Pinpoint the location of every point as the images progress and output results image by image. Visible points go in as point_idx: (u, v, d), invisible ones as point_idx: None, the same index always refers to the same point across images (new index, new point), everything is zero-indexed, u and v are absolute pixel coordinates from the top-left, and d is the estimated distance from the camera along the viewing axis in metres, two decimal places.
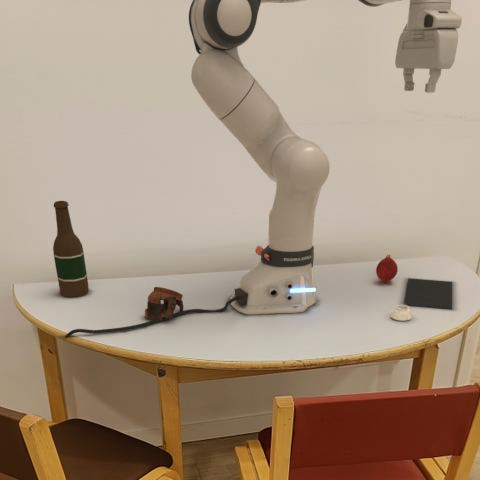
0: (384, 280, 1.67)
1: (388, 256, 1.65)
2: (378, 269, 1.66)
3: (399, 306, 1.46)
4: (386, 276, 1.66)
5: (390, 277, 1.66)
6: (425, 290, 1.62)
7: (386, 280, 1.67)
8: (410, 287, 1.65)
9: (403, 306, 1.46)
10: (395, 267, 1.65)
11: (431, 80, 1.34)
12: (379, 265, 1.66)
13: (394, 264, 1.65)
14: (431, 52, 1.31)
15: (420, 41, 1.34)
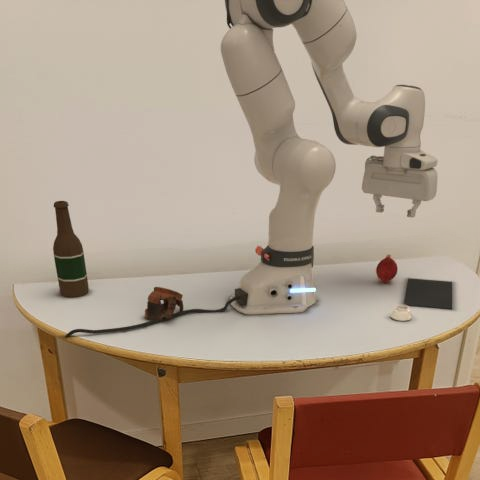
0: (384, 280, 1.67)
1: (388, 256, 1.65)
2: (378, 269, 1.66)
3: (399, 306, 1.46)
4: (386, 276, 1.66)
5: (390, 277, 1.66)
6: (425, 290, 1.62)
7: (386, 280, 1.67)
8: (410, 287, 1.65)
9: (403, 306, 1.46)
10: (395, 267, 1.65)
11: (415, 208, 1.54)
12: (379, 265, 1.66)
13: (394, 264, 1.65)
14: (416, 187, 1.51)
15: (398, 175, 1.53)
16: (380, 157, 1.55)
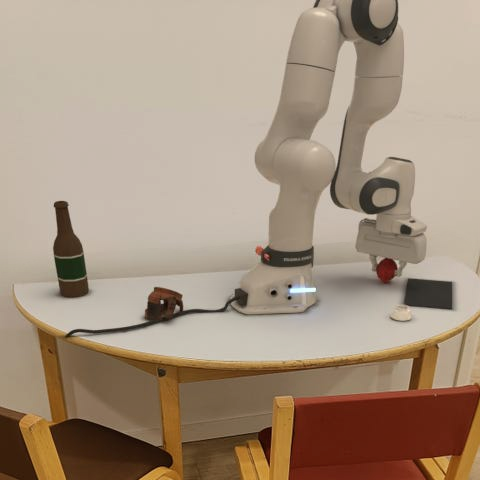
0: (384, 280, 1.67)
1: None
2: (378, 269, 1.66)
3: (399, 306, 1.46)
4: (386, 276, 1.66)
5: (390, 278, 1.66)
6: (425, 290, 1.62)
7: (386, 280, 1.67)
8: (410, 287, 1.65)
9: (403, 306, 1.46)
10: (395, 267, 1.65)
11: (401, 268, 1.64)
12: (379, 265, 1.66)
13: (394, 264, 1.65)
14: (406, 251, 1.59)
15: (389, 238, 1.62)
16: (373, 220, 1.64)
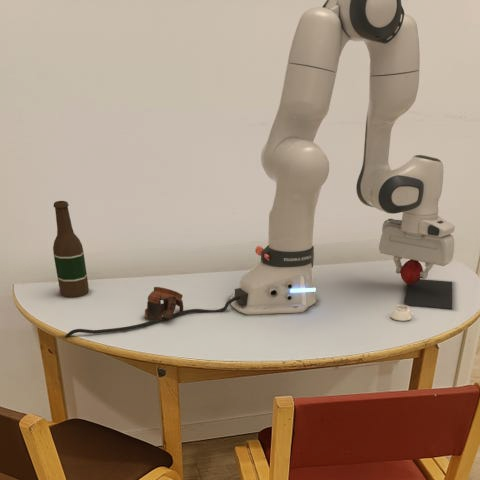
0: (409, 282, 1.63)
1: None
2: (403, 271, 1.61)
3: (399, 306, 1.46)
4: (411, 278, 1.61)
5: (415, 280, 1.61)
6: (425, 290, 1.62)
7: (411, 282, 1.62)
8: (410, 287, 1.65)
9: (403, 306, 1.46)
10: (420, 269, 1.60)
11: (427, 270, 1.59)
12: (404, 267, 1.61)
13: (419, 266, 1.60)
14: (433, 252, 1.54)
15: (415, 239, 1.57)
16: (398, 221, 1.59)
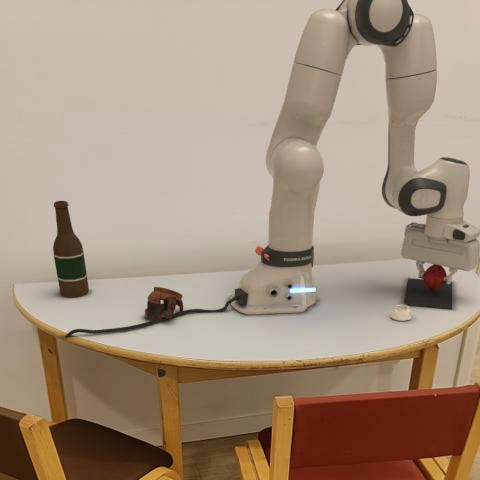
0: (432, 288, 1.59)
1: None
2: (426, 276, 1.57)
3: (399, 306, 1.46)
4: (435, 284, 1.57)
5: (439, 285, 1.57)
6: (425, 290, 1.62)
7: (434, 288, 1.58)
8: (410, 287, 1.65)
9: (403, 306, 1.46)
10: (444, 274, 1.56)
11: (451, 275, 1.55)
12: (427, 272, 1.57)
13: (443, 271, 1.56)
14: (458, 257, 1.50)
15: (440, 244, 1.53)
16: (421, 225, 1.55)
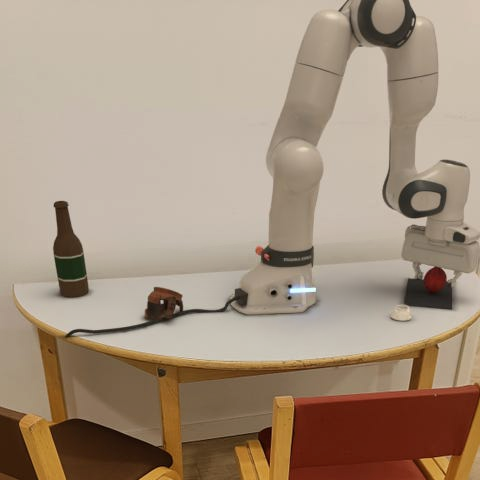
0: (432, 290, 1.59)
1: None
2: (426, 279, 1.58)
3: (399, 306, 1.46)
4: (435, 286, 1.57)
5: (439, 288, 1.57)
6: (425, 290, 1.62)
7: (434, 290, 1.59)
8: (410, 287, 1.65)
9: (403, 306, 1.46)
10: (444, 277, 1.57)
11: (456, 279, 1.54)
12: (427, 275, 1.57)
13: (443, 274, 1.57)
14: (458, 259, 1.50)
15: (440, 246, 1.53)
16: (421, 227, 1.55)
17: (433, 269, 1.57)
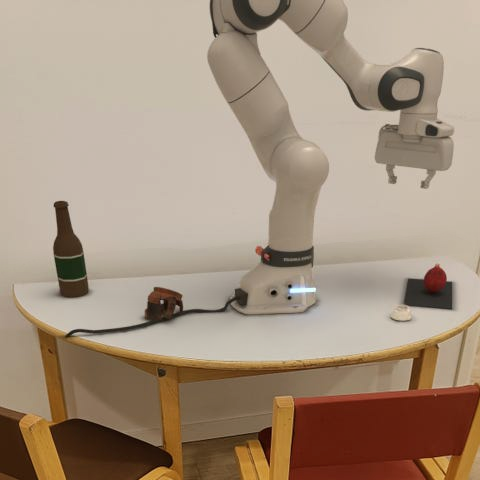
0: (432, 290, 1.59)
1: (437, 265, 1.57)
2: (426, 279, 1.58)
3: (399, 306, 1.46)
4: (435, 286, 1.57)
5: (439, 288, 1.57)
6: (425, 290, 1.62)
7: (434, 290, 1.59)
8: (410, 287, 1.65)
9: (403, 306, 1.46)
10: (444, 277, 1.57)
11: (429, 179, 1.49)
12: (427, 275, 1.57)
13: (443, 274, 1.57)
14: (431, 156, 1.46)
15: (413, 144, 1.48)
16: (395, 125, 1.51)
17: (433, 269, 1.57)
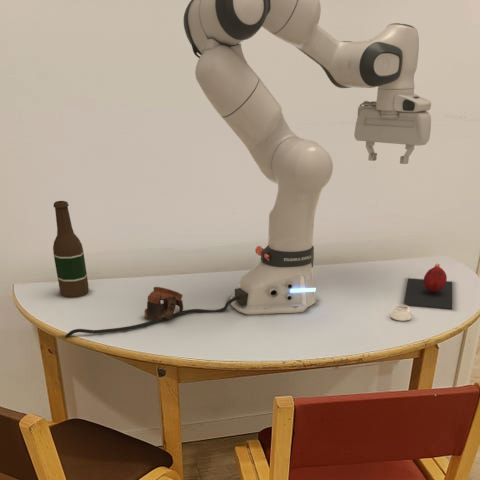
0: (432, 290, 1.59)
1: (437, 265, 1.57)
2: (426, 279, 1.58)
3: (399, 306, 1.46)
4: (435, 286, 1.57)
5: (439, 288, 1.57)
6: (425, 290, 1.62)
7: (434, 290, 1.59)
8: (410, 287, 1.65)
9: (403, 306, 1.46)
10: (444, 277, 1.57)
11: (408, 154, 1.51)
12: (427, 275, 1.57)
13: (443, 274, 1.57)
14: (409, 131, 1.48)
15: (391, 120, 1.50)
16: (373, 102, 1.53)
17: (433, 269, 1.57)
